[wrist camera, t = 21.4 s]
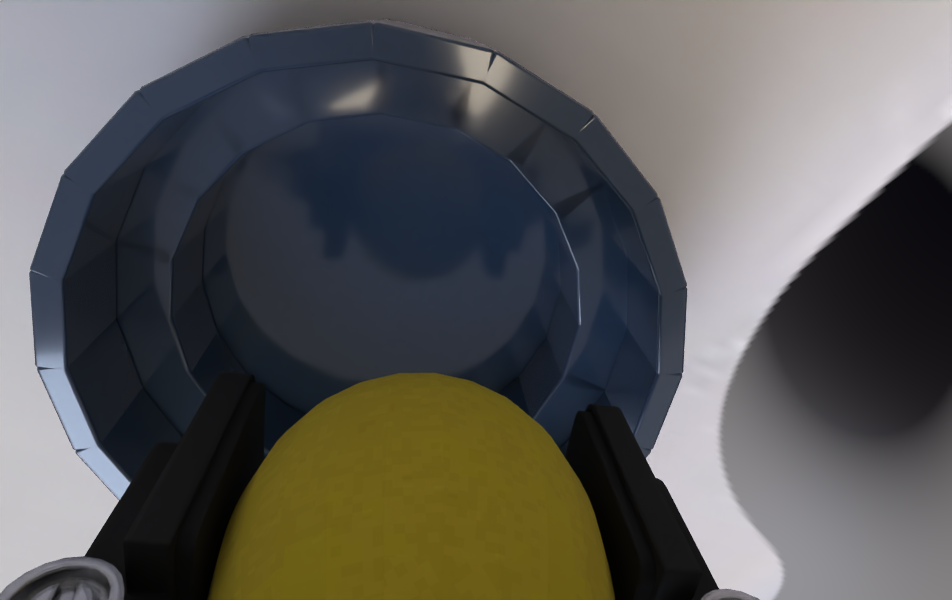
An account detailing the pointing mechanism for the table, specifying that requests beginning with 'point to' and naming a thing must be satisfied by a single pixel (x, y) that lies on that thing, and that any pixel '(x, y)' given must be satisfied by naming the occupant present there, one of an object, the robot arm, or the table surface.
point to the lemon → (413, 504)
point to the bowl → (351, 243)
